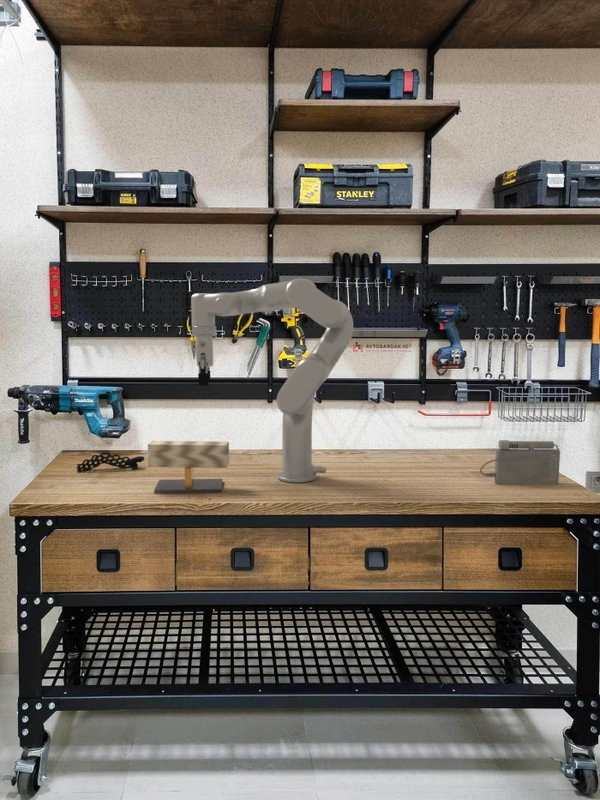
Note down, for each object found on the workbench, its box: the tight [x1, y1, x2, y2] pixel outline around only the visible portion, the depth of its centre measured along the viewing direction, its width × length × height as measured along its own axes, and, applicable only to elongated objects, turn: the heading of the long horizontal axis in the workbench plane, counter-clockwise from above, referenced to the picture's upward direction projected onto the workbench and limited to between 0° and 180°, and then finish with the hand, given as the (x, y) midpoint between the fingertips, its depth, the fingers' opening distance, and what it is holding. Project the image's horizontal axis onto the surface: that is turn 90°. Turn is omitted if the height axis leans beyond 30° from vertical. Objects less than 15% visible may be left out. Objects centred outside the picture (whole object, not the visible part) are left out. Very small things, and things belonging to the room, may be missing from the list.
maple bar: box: [147, 440, 230, 469], centre depth 209 cm, size 24×6×7 cm, turn 88°
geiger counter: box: [479, 439, 561, 485], centre depth 215 cm, size 14×6×25 cm
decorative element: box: [75, 451, 145, 472], centre depth 233 cm, size 22×5×6 cm, turn 103°
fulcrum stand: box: [153, 467, 224, 494], centre depth 210 cm, size 20×12×7 cm, turn 94°
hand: (204, 383), depth 223 cm, fingers open, 9 cm apart
